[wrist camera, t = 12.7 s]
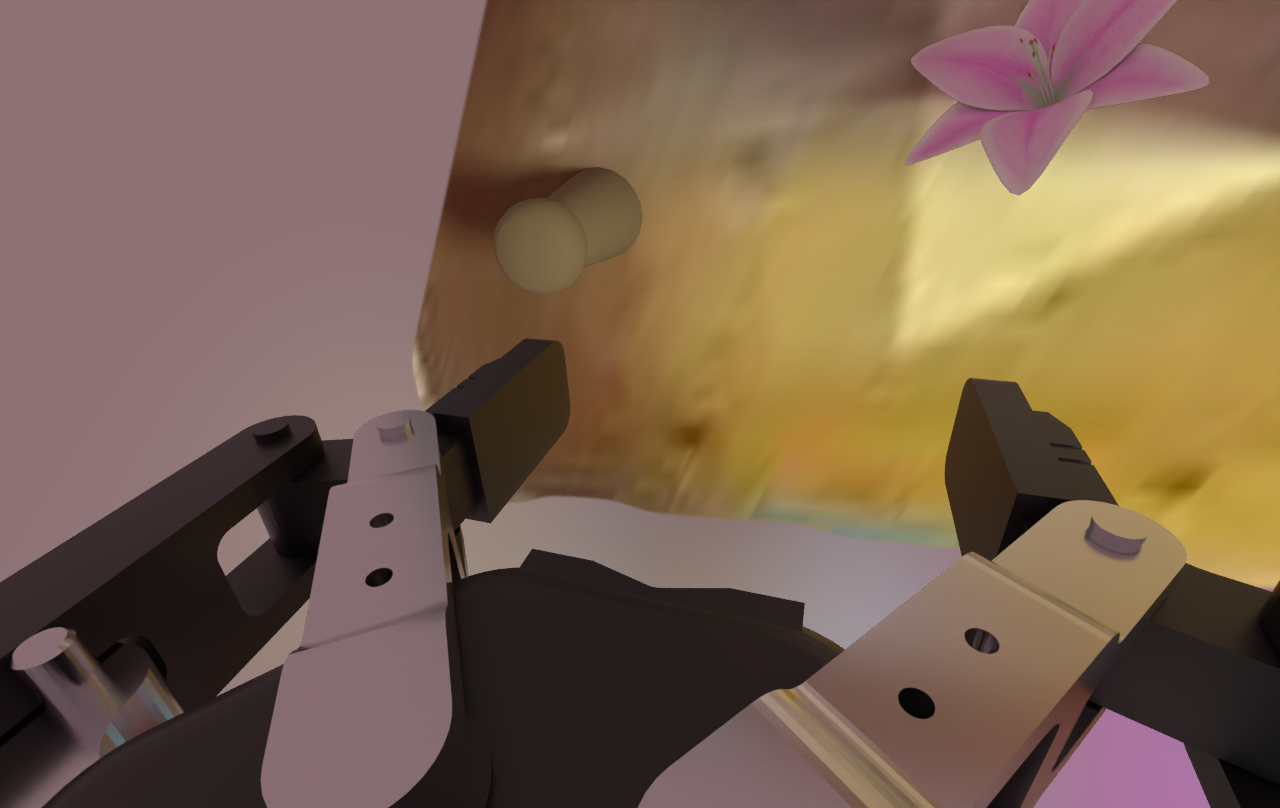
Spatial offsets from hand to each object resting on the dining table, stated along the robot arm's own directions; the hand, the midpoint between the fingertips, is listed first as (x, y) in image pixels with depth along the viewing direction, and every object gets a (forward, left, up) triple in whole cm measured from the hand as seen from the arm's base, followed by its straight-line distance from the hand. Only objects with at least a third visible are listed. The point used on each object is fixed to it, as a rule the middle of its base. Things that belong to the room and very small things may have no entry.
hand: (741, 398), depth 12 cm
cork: (+14, +2, -28) cm, 32 cm away
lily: (-10, -6, -28) cm, 31 cm away
